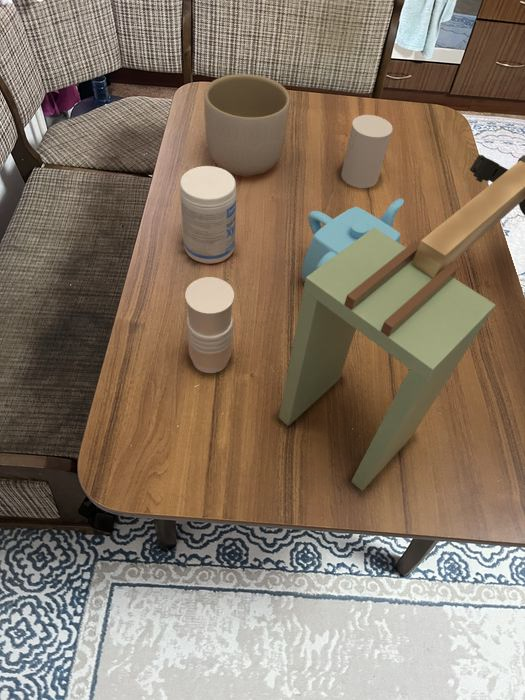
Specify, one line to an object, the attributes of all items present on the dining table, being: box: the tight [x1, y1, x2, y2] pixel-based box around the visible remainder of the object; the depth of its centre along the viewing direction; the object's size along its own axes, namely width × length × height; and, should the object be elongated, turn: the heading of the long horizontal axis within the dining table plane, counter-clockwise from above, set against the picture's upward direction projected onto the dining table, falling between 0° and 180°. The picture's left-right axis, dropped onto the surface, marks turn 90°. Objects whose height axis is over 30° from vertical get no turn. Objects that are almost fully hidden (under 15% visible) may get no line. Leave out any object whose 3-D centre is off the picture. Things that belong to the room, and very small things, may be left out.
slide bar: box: [412, 154, 525, 278], centre depth 61 cm, size 3×23×4 cm, turn 136°
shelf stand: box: [278, 227, 496, 492], centre depth 67 cm, size 16×12×32 cm
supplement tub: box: [179, 165, 237, 264], centre depth 94 cm, size 10×10×15 cm
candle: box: [184, 276, 235, 374], centre depth 79 cm, size 7×7×15 cm
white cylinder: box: [340, 114, 393, 189], centre depth 112 cm, size 8×8×12 cm
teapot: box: [301, 198, 405, 282], centre depth 93 cm, size 18×16×14 cm
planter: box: [203, 73, 291, 177], centre depth 111 cm, size 17×17×15 cm
